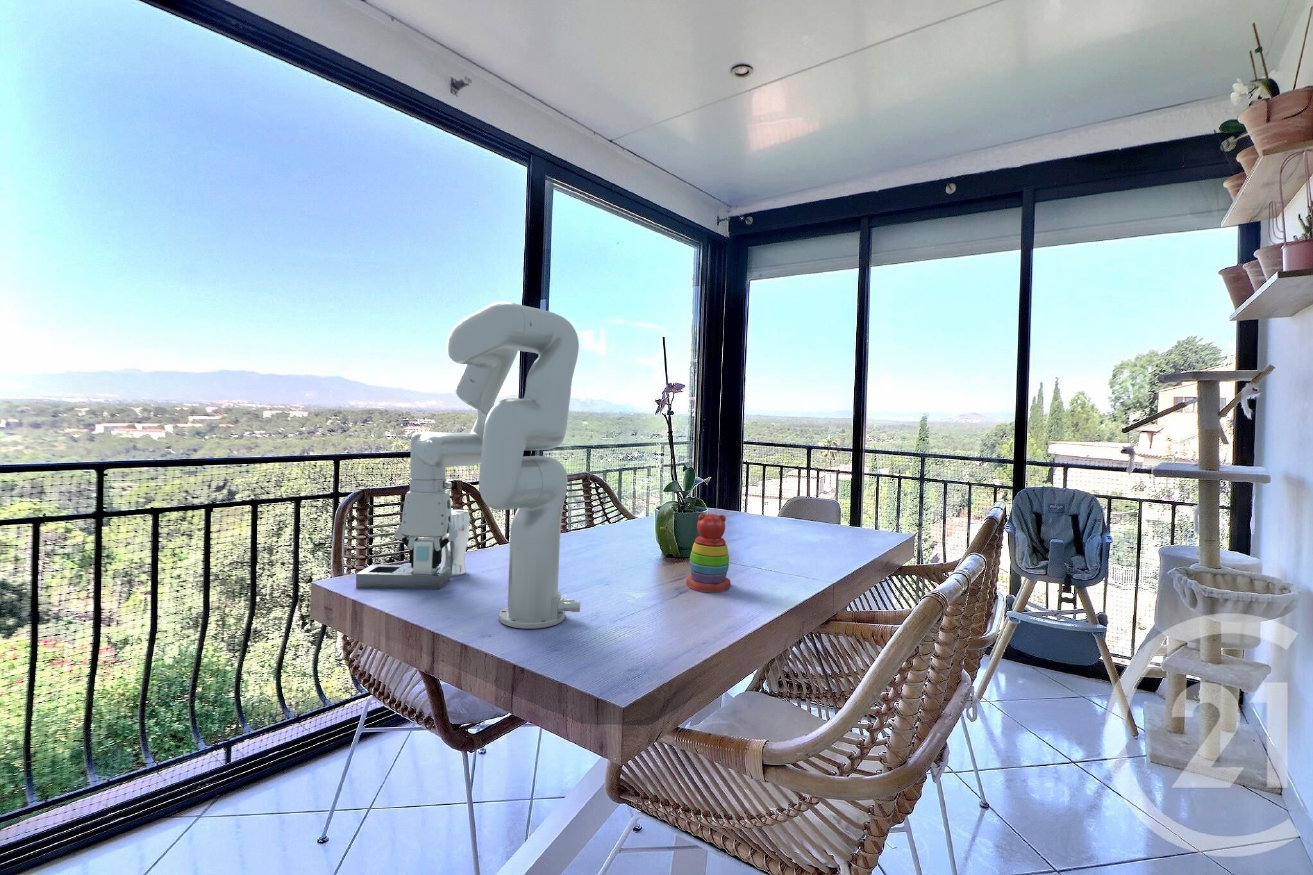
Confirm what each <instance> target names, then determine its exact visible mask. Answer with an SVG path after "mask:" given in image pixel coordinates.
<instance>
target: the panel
mask: <svg viewBox="0 0 1313 875" xmlns="http://www.w3.org/2000/svg"><path fill="white" fill-rule="evenodd" d="M450 580H451V576H450V567H441V566H438V567H437V571H436V572H435V573H434V574H413V568H411V565H395V564H391V565H390V564H371V565H369V566H367V567H366V568H364V569H362V570H360V571H358V572H357V573H356V574H355V588H365V589H366V588H367V589H369V588H370V589H371V588H373V589H398V590H399V589H403V590H404V589H405V590H407V589H409V590H436V591H437V590H441V589H442V588H443V587H444V586H445V585H446V584H447V583H448V582H449V581H450Z"/></svg>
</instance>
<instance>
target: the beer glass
mask: <svg viewBox="0 0 1313 875" xmlns="http://www.w3.org/2000/svg"><path fill="white" fill-rule="evenodd" d="M451 514H452V526H453V528H454V529H455V531H456V532H457V534H458V537H457V538H455V539H454V540H452V541H450V542H449V543H448V544H446V545H445V546H444V547H443V548H442V561H441V564H440V567H450V577H458V576H462V575H464V574H466V573H467V567H466V550H467V546H468V543H469V542H468V541H469V537H470V512H469V511H468V510H464V509H451ZM448 536H449V533H448V534H446V535H445V536H443V540H444V539H445V538H447V537H448Z"/></svg>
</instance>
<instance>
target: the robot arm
mask: <svg viewBox="0 0 1313 875" xmlns="http://www.w3.org/2000/svg"><path fill="white" fill-rule="evenodd" d="M579 349H580V344H579V337H578V333H577V330H576V329H575V327H574V326H573V324H572V323H571V322H570V321H569V320H568V319H567V318H565V317H563V316H562V315H560V314H558V313H555V312H551V311H549V310H545V309H542V308H536V307H532V306H527V305H523V304H519V303H514V302H509V301H497V302H493V303H491V304H489V305H486V306H485V307H482V308H481V309H479V310H476V311H475V312H473V313H471V314H470V315H467V316H466V317H464V318H462V319H461V320H460V321H458V322H457V323H456V324H455V325H454V326H453V327H452V328H451V330H450V332H449V333H448V335H447V340H446V351H447V355H448V357H449V358H450V359H451V361H453V362H455V363H456V364H460V365H464V366H463V369H462V371H461V373H460V375H459V377H458V380H457V382H456V384H455V387H454V388H455V389H454V390H455V391H454V392H455V394H456V396H457V397H458V398H459V399H460V400H461V401H462V402H463V403H465V404H466V405H468V406H469V407H471V408H473V409H475V410H477V417H476V419H475V423H474V425H473V427H472V429H471V431H470V432H466V431H465V432H459V431H456V432H454V431H453V432H452V431H451V432H440V431H417V432H414V433H413V434H412V436H411V439H410V463H409V464H410V469H409V470H410V472H409V491H407V492H406V495H405V497H404V503H403V509H402V515H401V524H400V525H399V527H398V528H397V530H396V531H395V532H394V533H393V536H394V537H395V538H396V539H398V540H399V541H401V542H402V543H403V544H404V545H405V546H406V547H407V549H408V551H409V558H408V561H409V564H410V566H411V568H413V560H414V542H415V541H416V540H418V539H420V538H432V539H433V540H434V546H435V548H434V551H433V559H432V568H437V567H440V565H441V564H442V548H443V547H444V546H445V545H446V544H448V543H449V542H450V541H452V540H454V539H455V538H457V537H458V534H457V532H456V531H455V529H454V528H453V526H452V514H451V510H452V504H451V496H450V492H449V491H446V490H448V489H451V488H452V487H453V486H452V485H453V483H452V482H451V481H448V480H447V476H446V474H447V473H446V472H447V468H454V467H469V466H471V467H472V466H477V465H479V464H480V465H479V473H478V474H479V475H478V486H479V487H478V489H479V494H480V497H481V499H482V501H483V502H484V503H485V505H486V506H487V507H488V508H491V509H493V510H497V511H507V510H516V511H515V513H514V516H513V518H512V522H511V527H510V534H509V535H510V536H509V558H508V561H509V562H508V582H507V583H508V588H507V606H506V607H504V608H502V609H501V610H500V611H499V613H498V620H499V621H500V622H501V624H503V625H505V626H508V627H511V628H515V629H522V630H523V629H526V630H528V629H529V630H531V629H542V628H543V629H545V628H549V627H553V626H556V625H559V624H560V623H562V622H563V621H564V620H565V618H566V612H570V613H580V612H581V601H576V599H575V598H569V599H568V598H567V599H566V598H564V597H561V596H562V595H561V594H562V592H561V591H559V573H560V549H561V548H560V547H561V546H560V545H561V527H562V516H563V509H564V503H565V500H566V496H567V491H568V480H569V479H568V474H567V471H566V468H565V467H564V465H563V464H562V463H561V462H560V461H559V460H557V459H555V458H554V457H552V456H551V457H550V456H547V455H529V456H528V455H527V456H526V455H525V456H524V451H543V450H550V449H556V448H558V447H559V446H560V445H561V444H562V443H563V441H565V440H564V439H565V436H566V433H567V426H568V419H569V418H568V417H569V410H570V403H571V402H570V401H571V395H572V394H571V392H572V383H573V382H572V381H573V376H574V372H575V369H576V366H577V365H576V364H577V361H578V357H579ZM519 351H520V352H525V353H526V352H528V353H532V354H534V353H535V354H537V355H538V357H537V358H536V359H535V360H534V362H533V363H532V365H531V367H530V369H529V371H528V372H527V376H526V380H525V381H526V382H525V391H524V396H523V398H511V397H510V398H505V399H501V400H500V401H497V402H496V399H497V398H498V395H499V393H500V391H501V389H502V387H503V385H504V382H505V381H506V379H507V377H508V374H509V373H510V370H511V367H513V366H512V365H513V363H514V361H515V359H516V357H517V354H518V352H519ZM495 402H496V403H495ZM448 533H449V536H448V537H447V538H445V539H444V540H443V536H445V535H446V534H448Z"/></svg>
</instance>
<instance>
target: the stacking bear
mask: <svg viewBox="0 0 1313 875" xmlns="http://www.w3.org/2000/svg"><path fill="white" fill-rule="evenodd" d="M697 519H698V521H697V524H696V525H697V526H696V528H697V532H698V534H699V535H698V536H697V537H696V538H695V540H694V541H693V542H694V543H693V545H692V548H691V552H690V556H689V568H690V575H688V576H687V578H686V582H685V583H686V586H687V587H688V588H690V589H691V588H692V590H694V591H696V590H697V592H701V593H706V592H718V593H723V592H725V590H726V591H727V590H729V589H730V588H731V584H732V583H731V579H730V578H728V577H727V575H728V574H727V573H728V571H729V567H730V556H729V548H728V544H726V543H727V542H726V540H725V539H724V537H723V536H724V534H725V530H726V523H725V522H726V520H727V518H726V516H725V515H724V514H720V515H719V514H715V513H706V514H705V513H704V512H703V513H700V514H699V515H698V518H697ZM722 591H723V592H722Z"/></svg>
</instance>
